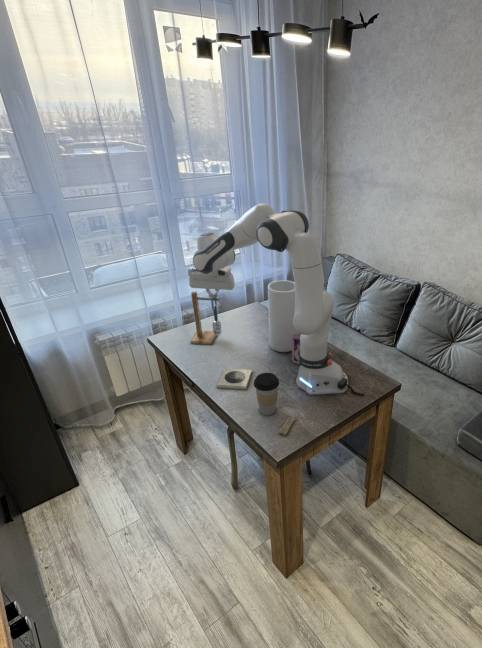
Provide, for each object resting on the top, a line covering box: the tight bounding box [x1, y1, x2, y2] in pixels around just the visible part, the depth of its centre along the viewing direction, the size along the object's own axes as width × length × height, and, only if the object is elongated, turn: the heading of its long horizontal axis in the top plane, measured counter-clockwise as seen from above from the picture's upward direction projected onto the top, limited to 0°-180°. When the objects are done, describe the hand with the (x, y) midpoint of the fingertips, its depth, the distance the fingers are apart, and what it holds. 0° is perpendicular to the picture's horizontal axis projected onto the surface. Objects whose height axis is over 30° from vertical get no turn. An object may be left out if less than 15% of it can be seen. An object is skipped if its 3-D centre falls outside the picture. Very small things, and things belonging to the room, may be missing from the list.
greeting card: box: [291, 333, 301, 365], centre depth 179 cm, size 11×7×15 cm, turn 66°
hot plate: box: [216, 368, 253, 390], centre depth 169 cm, size 12×12×2 cm
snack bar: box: [278, 416, 297, 436], centre depth 146 cm, size 10×2×3 cm
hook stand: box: [190, 291, 222, 345], centre depth 191 cm, size 15×10×25 cm, turn 88°
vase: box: [267, 279, 300, 353], centre depth 187 cm, size 14×14×32 cm
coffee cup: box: [253, 372, 280, 416], centre depth 150 cm, size 9×9×15 cm
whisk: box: [210, 293, 223, 337], centre depth 190 cm, size 4×6×21 cm
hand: (213, 296), depth 185 cm, fingers closed on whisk
